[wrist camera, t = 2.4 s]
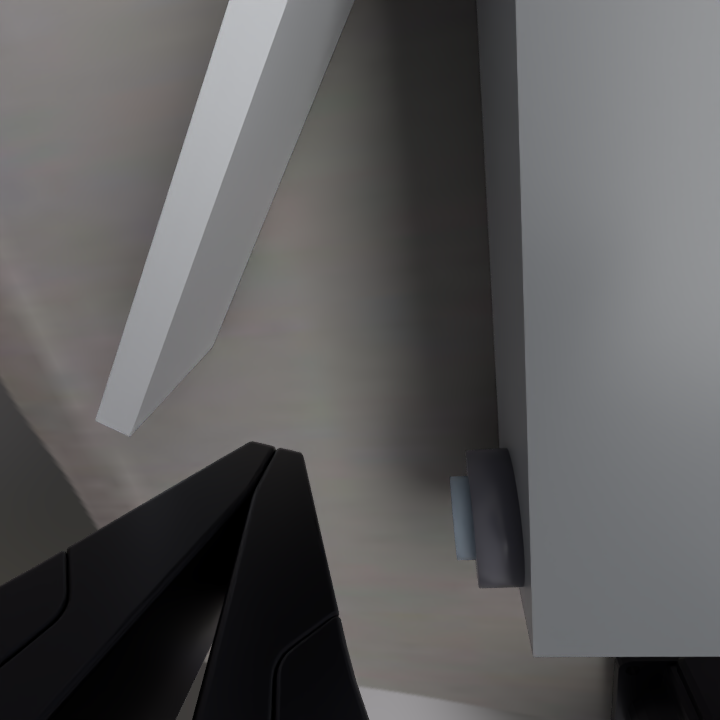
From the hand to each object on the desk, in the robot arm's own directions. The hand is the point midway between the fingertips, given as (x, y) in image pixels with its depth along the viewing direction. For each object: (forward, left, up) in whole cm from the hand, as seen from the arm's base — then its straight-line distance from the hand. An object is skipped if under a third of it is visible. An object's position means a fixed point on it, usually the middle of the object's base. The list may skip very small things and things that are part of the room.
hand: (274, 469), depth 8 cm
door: (+5, 0, -7) cm, 9 cm away
